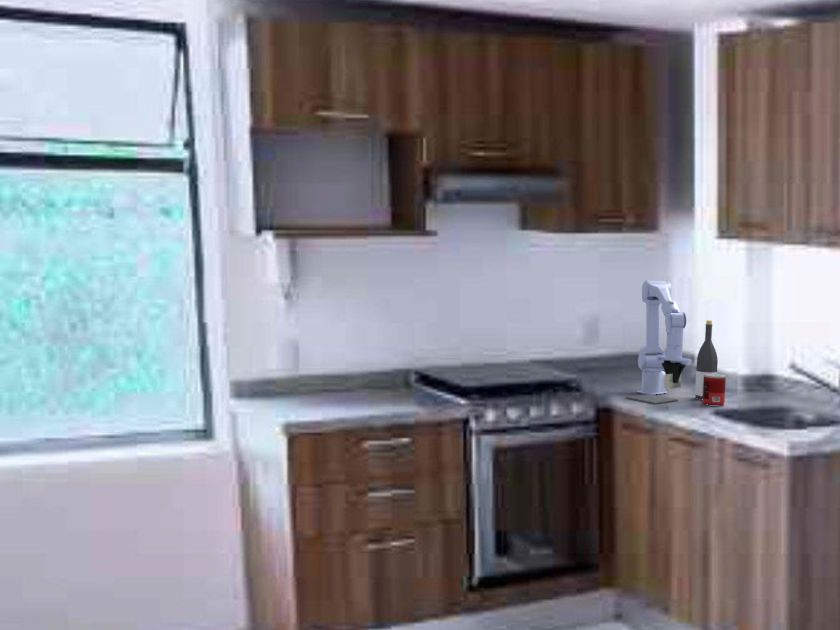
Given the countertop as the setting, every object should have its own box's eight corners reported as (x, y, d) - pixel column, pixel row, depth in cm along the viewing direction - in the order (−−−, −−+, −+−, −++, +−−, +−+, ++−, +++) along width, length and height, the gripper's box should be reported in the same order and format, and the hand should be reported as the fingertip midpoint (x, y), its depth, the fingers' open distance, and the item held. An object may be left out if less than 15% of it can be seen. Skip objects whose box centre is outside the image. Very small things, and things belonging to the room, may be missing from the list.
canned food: (728, 404, 376) (730, 375, 374) (716, 407, 370) (717, 377, 369) (710, 401, 381) (711, 372, 380) (698, 403, 376) (699, 374, 375)
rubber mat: (649, 395, 392) (649, 393, 392) (678, 401, 381) (678, 399, 381) (626, 398, 384) (626, 396, 384) (655, 404, 373) (655, 402, 373)
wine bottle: (691, 398, 386) (694, 320, 383) (698, 396, 393) (702, 318, 390) (711, 401, 382) (715, 322, 379) (719, 398, 388) (723, 320, 385)
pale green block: (676, 386, 375) (677, 373, 374) (680, 387, 373) (681, 373, 373) (663, 388, 371) (664, 374, 370) (668, 388, 369) (669, 375, 368)
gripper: (651, 343, 374) (649, 380, 375) (683, 348, 362) (681, 386, 364) (664, 342, 378) (662, 378, 379) (696, 347, 366) (694, 384, 368)
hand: (672, 382), depth 372 cm, fingers closed on pale green block, 2 cm apart
